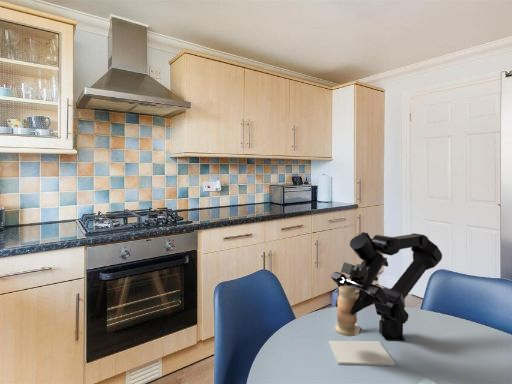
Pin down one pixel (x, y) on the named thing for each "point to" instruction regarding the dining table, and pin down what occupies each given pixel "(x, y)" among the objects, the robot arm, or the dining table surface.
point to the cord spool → (346, 312)
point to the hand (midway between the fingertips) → (343, 310)
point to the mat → (360, 353)
